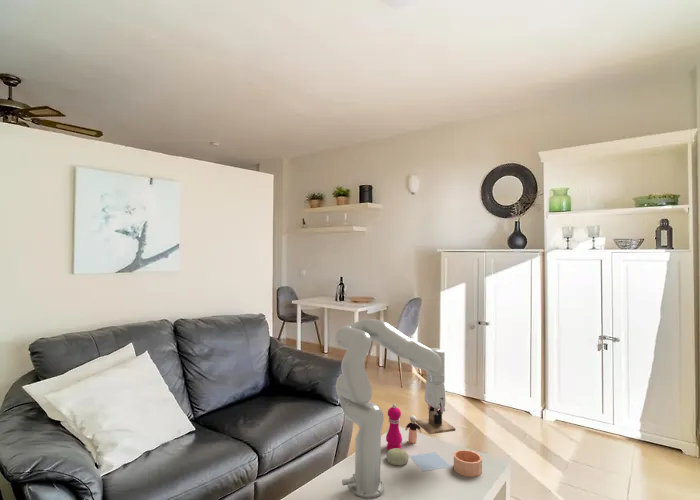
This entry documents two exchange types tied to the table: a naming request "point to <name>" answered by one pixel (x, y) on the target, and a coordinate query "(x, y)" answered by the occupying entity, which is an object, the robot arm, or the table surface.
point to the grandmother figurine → (412, 430)
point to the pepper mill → (394, 428)
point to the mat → (429, 461)
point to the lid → (434, 425)
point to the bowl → (467, 463)
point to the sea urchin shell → (397, 456)
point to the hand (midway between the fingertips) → (435, 421)
